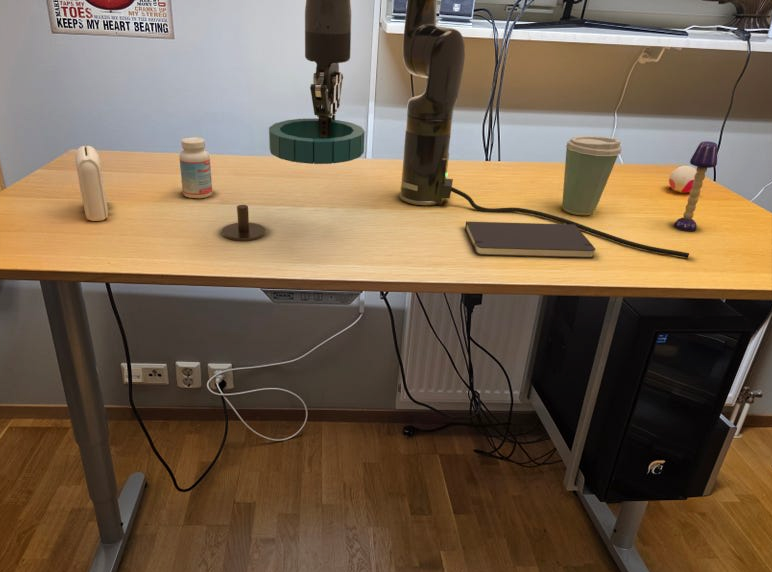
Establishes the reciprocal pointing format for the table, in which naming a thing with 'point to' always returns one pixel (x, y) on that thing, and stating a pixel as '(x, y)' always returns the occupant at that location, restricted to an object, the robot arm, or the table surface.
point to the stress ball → (682, 179)
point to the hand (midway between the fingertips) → (326, 137)
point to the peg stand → (243, 227)
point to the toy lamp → (697, 182)
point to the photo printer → (91, 183)
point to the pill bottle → (195, 168)
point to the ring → (315, 141)
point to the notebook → (528, 239)
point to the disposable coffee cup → (587, 172)
